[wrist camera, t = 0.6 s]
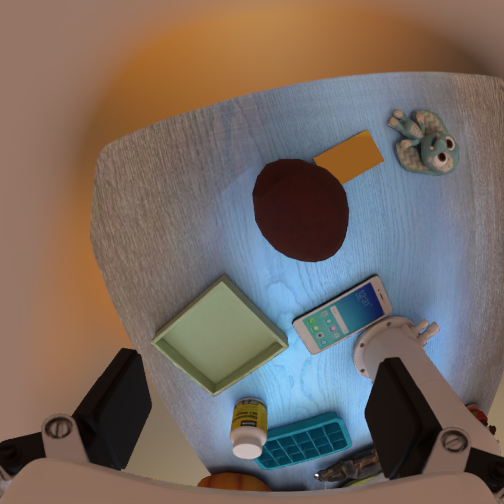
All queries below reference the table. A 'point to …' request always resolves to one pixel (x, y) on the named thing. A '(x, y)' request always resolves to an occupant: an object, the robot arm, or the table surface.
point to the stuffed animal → (425, 143)
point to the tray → (220, 338)
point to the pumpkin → (234, 482)
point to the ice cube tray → (304, 441)
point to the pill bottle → (249, 427)
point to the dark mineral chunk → (352, 467)
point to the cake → (481, 417)
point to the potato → (301, 209)
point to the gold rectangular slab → (350, 157)
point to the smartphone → (343, 315)
